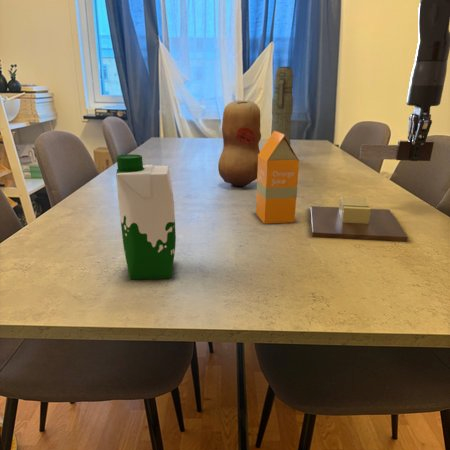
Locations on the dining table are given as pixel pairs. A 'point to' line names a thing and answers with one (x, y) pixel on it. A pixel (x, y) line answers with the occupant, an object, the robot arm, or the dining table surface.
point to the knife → (395, 151)
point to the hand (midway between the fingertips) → (412, 159)
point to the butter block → (351, 203)
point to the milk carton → (146, 217)
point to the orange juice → (277, 181)
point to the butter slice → (356, 215)
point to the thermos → (282, 101)
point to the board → (356, 225)
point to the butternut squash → (240, 143)
